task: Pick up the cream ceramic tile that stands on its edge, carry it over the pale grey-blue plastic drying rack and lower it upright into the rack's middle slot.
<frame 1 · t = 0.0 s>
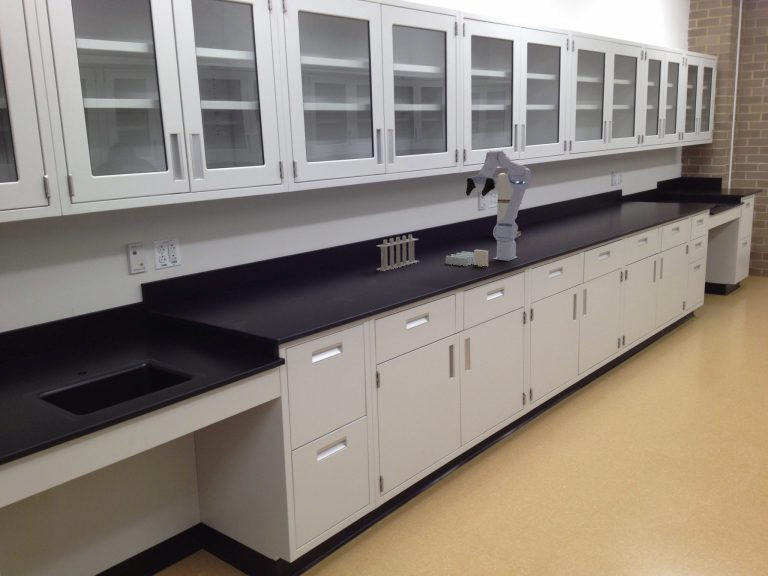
hand: (474, 194, 285), 32 cm above the countertop, tool tilted 50°, fingers open, 7 cm apart
cream tile: (481, 265, 299), on the countertop
drying rack: (464, 262, 307), on the countertop
test tube rack: (398, 266, 302), on the countertop
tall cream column: (508, 236, 380), on the countertop
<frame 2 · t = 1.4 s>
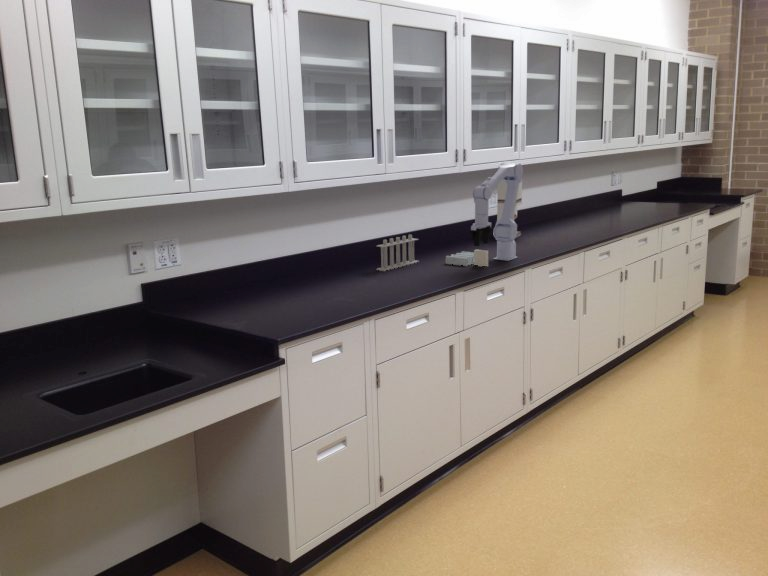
hand: (481, 244, 297), 10 cm above the countertop, tool pointing down, fingers open, 7 cm apart
nothing on the countertop moved.
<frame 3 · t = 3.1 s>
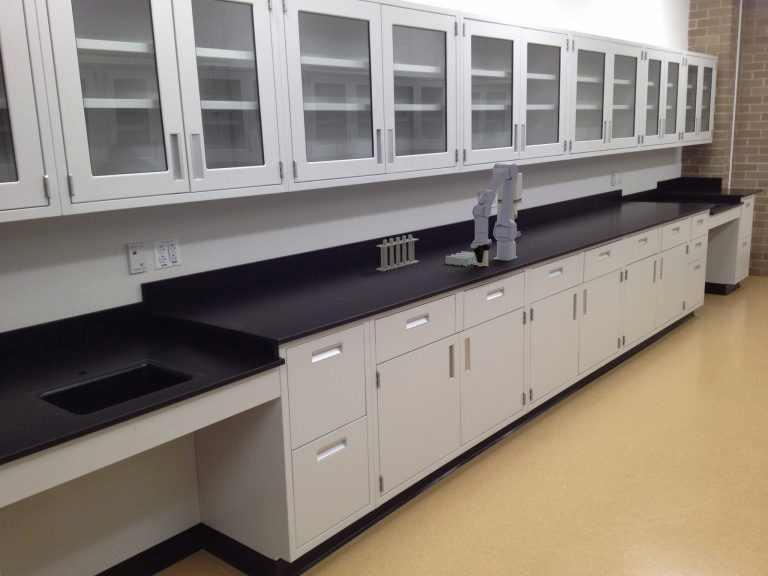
hand: (481, 262, 298), 2 cm above the countertop, tool pointing down, fingers closed on cream tile, 2 cm apart
cream tile: (481, 265, 299), on the countertop, touching gripper
everything else where it was.
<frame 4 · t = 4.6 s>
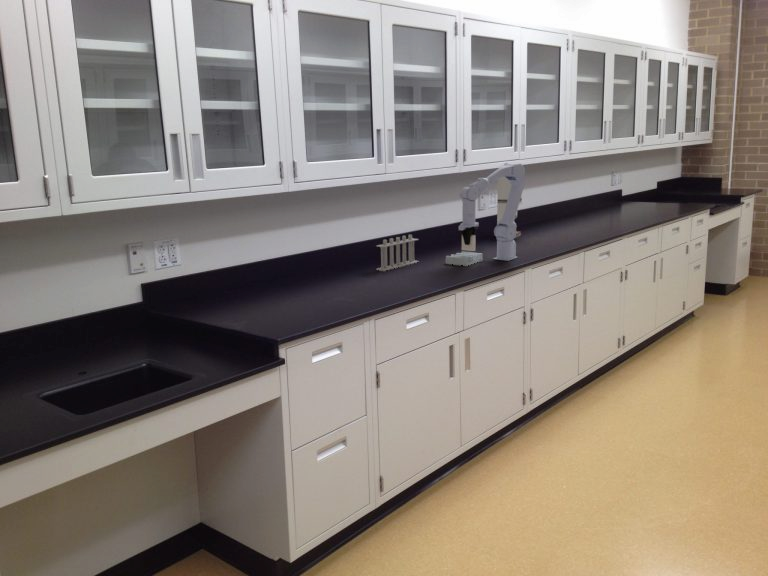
hand: (468, 244, 303), 9 cm above the countertop, tool pointing down, fingers closed on cream tile
cream tile: (468, 250, 304), point 6 cm above the countertop, touching gripper
everything else where it was.
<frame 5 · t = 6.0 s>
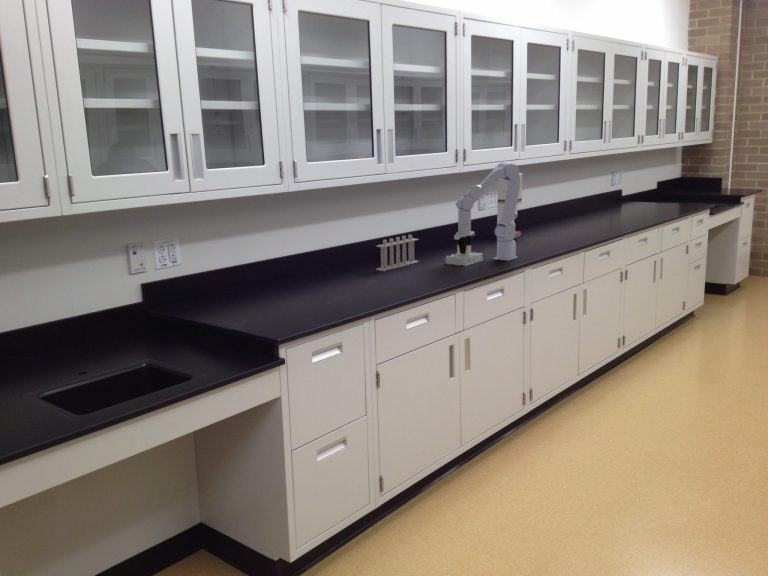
hand: (464, 253, 307), 4 cm above the countertop, tool pointing down, fingers closed on cream tile, 2 cm apart
cream tile: (464, 260, 307), point 1 cm above the countertop, touching drying rack, gripper
everything else where it was.
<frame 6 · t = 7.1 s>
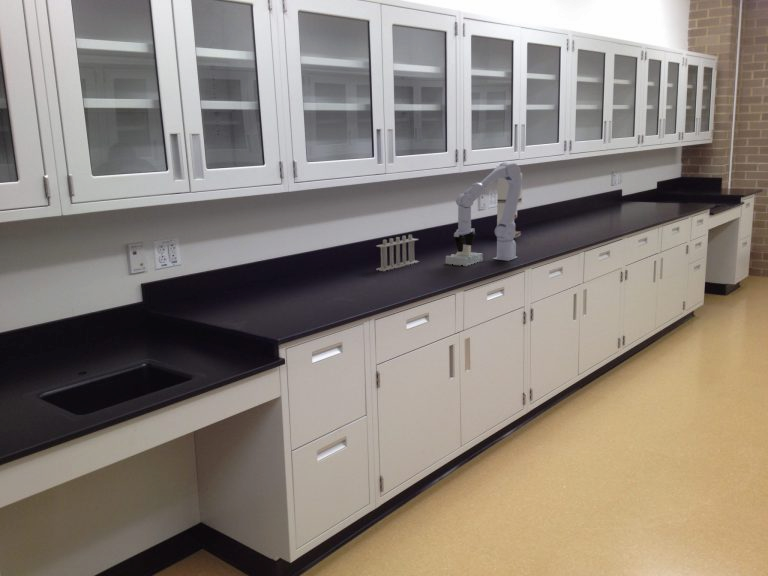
hand: (464, 250, 306), 6 cm above the countertop, tool pointing down, fingers open, 7 cm apart
cream tile: (464, 260, 307), point 1 cm above the countertop, touching drying rack
everything else where it was.
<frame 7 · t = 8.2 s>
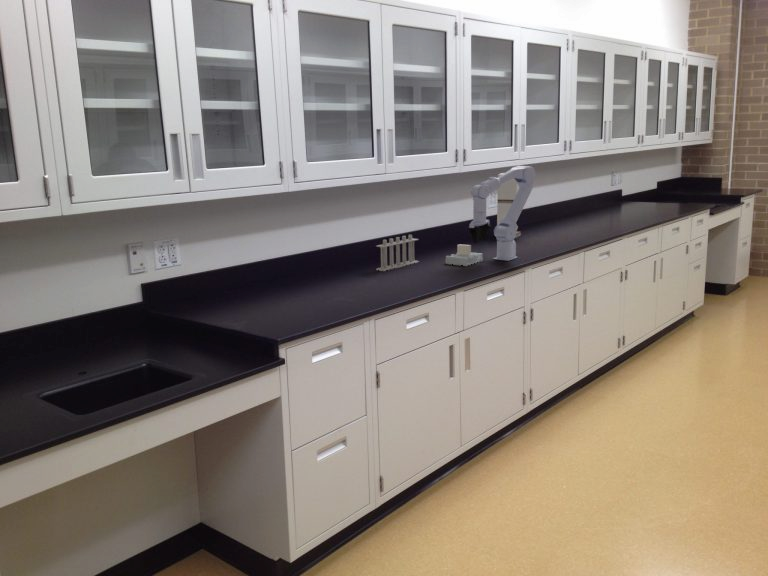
hand: (479, 241, 305), 9 cm above the countertop, tool pointing down, fingers open, 7 cm apart
nothing on the countertop moved.
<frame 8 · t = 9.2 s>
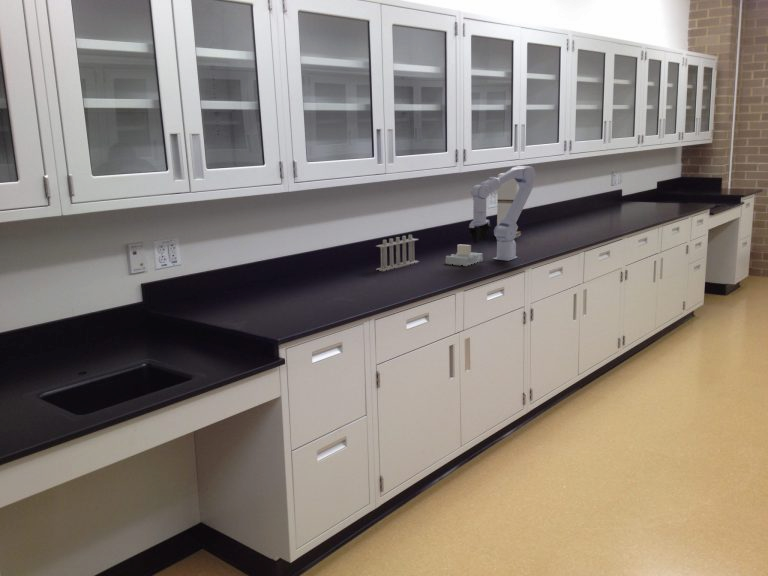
hand: (479, 241, 305), 9 cm above the countertop, tool pointing down, fingers open, 7 cm apart
nothing on the countertop moved.
at the end: cream tile 0.1 cm off-centre on the drying rack, point 1.0 cm above the drying rack's base; cream tile tilted 0°; the gripper is holding nothing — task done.
